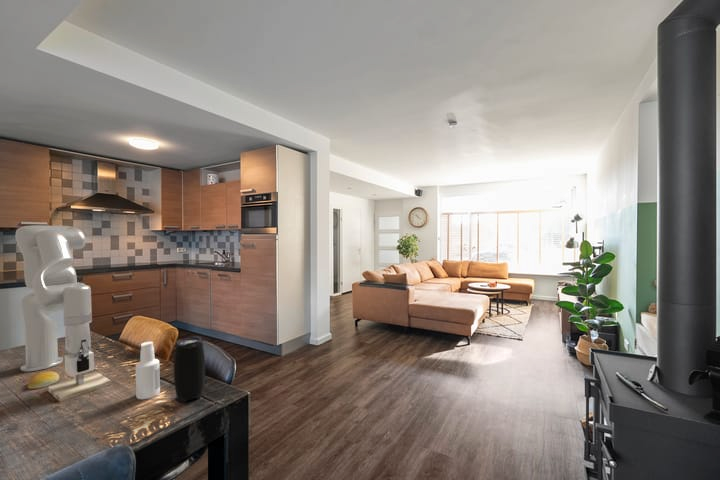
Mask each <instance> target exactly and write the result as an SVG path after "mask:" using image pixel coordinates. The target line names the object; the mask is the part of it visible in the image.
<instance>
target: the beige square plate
mask: <svg viewBox="0 0 720 480" xmlns="http://www.w3.org/2000/svg"><path fill="white" fill-rule="evenodd" d="M111 385H112V380H111V379H109V378H107V377H106V376H105V375H103V374H101V373H100V372H98V371H94V372H92V373H89V374H85V373H82V374H78V375H75V378H72V379H69V380H68V379H67V380H66V381H65V380H64V381H62V382H58V383H54V384H51V385H49V386H47V391H48V393H49V394H51V395H52V396H53V397H54V398H55V399H56V400H57V401H58V402H60V403H61V402H64V401H68V400H70V399H73V398H76V397H79V396H82V395H84V394H88V393H91V392H93V391H94V392H95V391H96V390H100V389H102V388H105V387H108V386H111Z"/></svg>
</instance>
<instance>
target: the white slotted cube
mask: <svg viewBox="0 0 720 480" xmlns="http://www.w3.org/2000/svg"><path fill="white" fill-rule="evenodd" d="M81 351H82V350H81ZM81 351H79V352H81ZM81 354H83V353H81ZM81 354H80V357H81ZM94 357H95V353H94V351H91V350H89V369H88V370H85V371H82V372H77V361H78V357H77V353H76V354H72V353H71V354H70V353H68V354H64V373H65V374H67V375H68V376H70V377H71V378H72V377H76V375H78V374H82V373H84V374H85V373H88V372H90V371H94V370H95V358H94Z"/></svg>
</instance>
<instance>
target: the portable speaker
mask: <svg viewBox="0 0 720 480" xmlns="http://www.w3.org/2000/svg"><path fill="white" fill-rule="evenodd" d="M175 346H176V347H175V351H174V357H173V383H174V388H175V394H176V399H177V401H178V403H183V404H185V403H186V402H187V401H188V400H192V399H195V398H196V400H198V399H199V400H200V399H201V398H202V397H203V396H204V395H203V394H204V389H205V380H206V379H205V377H206V363H205V362H206V361H205V358H206V357H205V355H206V354H205V349H204V344H203V339H202V337H201V336H197V335H196V336H191V337H188V338H184V339H178V340H176V342H175Z"/></svg>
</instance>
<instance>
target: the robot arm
mask: <svg viewBox="0 0 720 480" xmlns="http://www.w3.org/2000/svg"><path fill="white" fill-rule="evenodd" d="M15 242H16V244H17V247H18V249H19V251H20V252H21V254H22V258H23V272H24V273H23V275H24V283H25V286H26V287H27V288H28V289H30V290H31V289H32V290H33V292H31V293H28V294H26V295H24V296H23V297H22V298H21V299H20V308H21V312H22V317H23V322H24V342H25V347H24V349H25V363H24V364H23V365H21V367H20V371H21V372H26V373H27V372H35V371H41V370H47V369H49V368H53V367H55V366H58V365H60V364H61V363H63V361H64V359H63V357H60V356H59V354H58V353H59V352H58V351H59V349H58V345H59V344H58V323H57V321H56V319H55V318H53V317H52V316H51V315H49V314H52V313H56V312H63V326H64V327H65V335H64V337H65V338H64V339H65V342H64V345H65V346H64V348H65V350H66V351H67V352H68V353H69V354H71V353H72V354H76V353H77V357H78V361H77V372H82V371H85V370H88V369H89V351H91V348H92V346H91V345H92V344H91V343H92V341H91V340H92V339H91V329H90V324H91V323H92V322H93V313H92V312H93V311H92V289H91V286H90V285H87V284H85V283H83V282H78V279H77V278H78V277H77V272H76V269H75V268H74V266H72V265H73V264H74V257H73V254H72V252H71V250H81V249H84V247H85V246H86V244H87V243H86V242H87V239H86V236H85V234H84V232H83V231H82V230H81V229H79V228H77V227H74V226H69V225H45V224H43V225H42V224H41V225H37V224H35V225H25V226H24V225H23V226H21V227H18V228H17V229H16V231H15ZM79 351H81V352H79ZM81 353H83V354H81ZM80 354H81V357H80Z"/></svg>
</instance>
